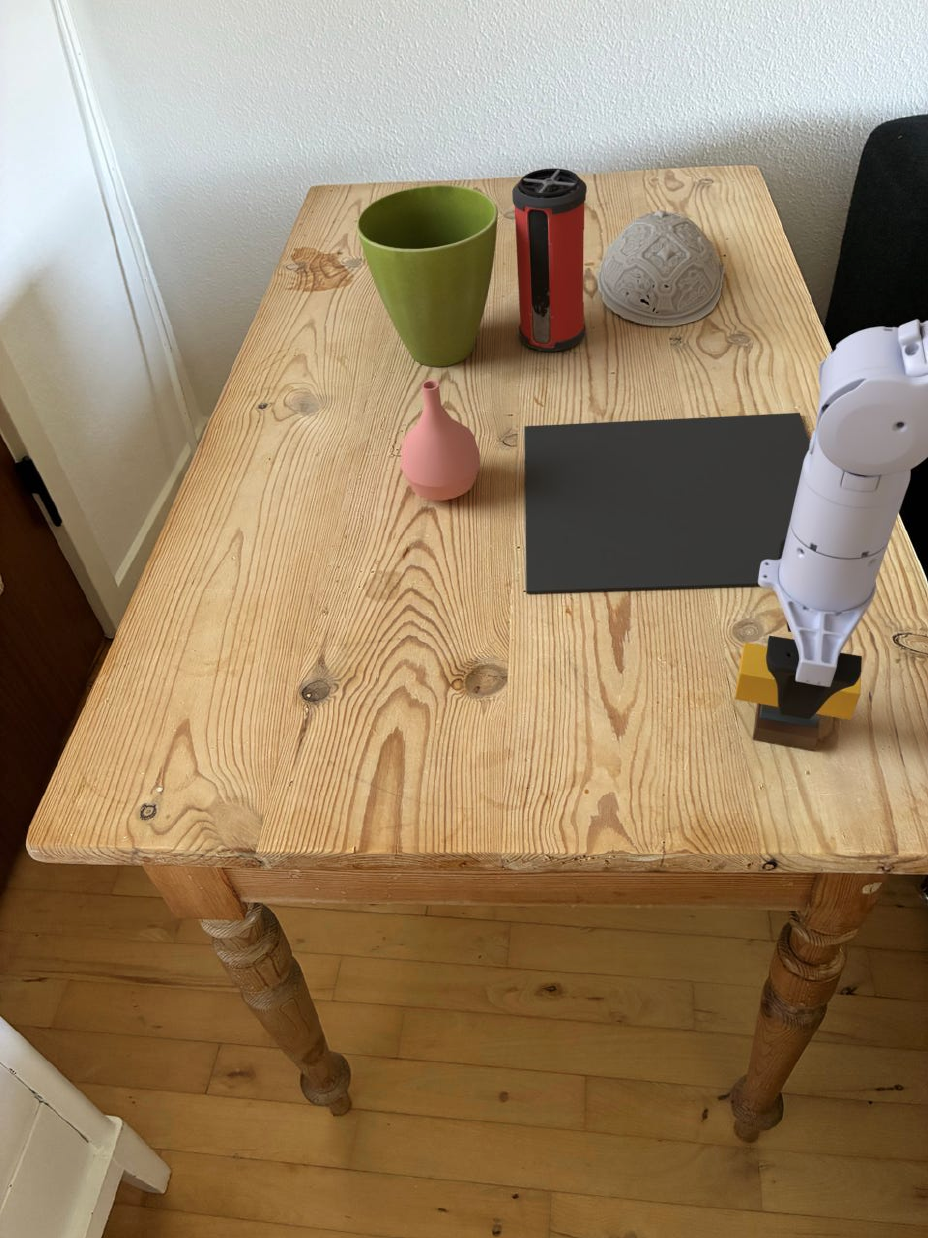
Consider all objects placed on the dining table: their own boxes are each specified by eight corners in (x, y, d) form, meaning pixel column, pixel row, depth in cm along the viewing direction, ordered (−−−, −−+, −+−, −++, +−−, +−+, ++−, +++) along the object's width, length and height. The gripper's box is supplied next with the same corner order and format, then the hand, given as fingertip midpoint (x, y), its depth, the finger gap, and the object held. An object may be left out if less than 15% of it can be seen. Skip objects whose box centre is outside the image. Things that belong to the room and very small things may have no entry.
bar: (852, 687, 68) (861, 661, 66) (850, 720, 66) (860, 694, 64) (738, 668, 70) (744, 642, 68) (734, 699, 68) (739, 673, 66)
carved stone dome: (593, 322, 110) (600, 266, 105) (600, 233, 127) (607, 182, 122) (727, 334, 109) (740, 278, 104) (715, 243, 126) (727, 192, 121)
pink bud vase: (390, 501, 92) (370, 397, 83) (431, 457, 96) (416, 354, 88) (457, 523, 89) (445, 418, 80) (496, 476, 93) (488, 372, 84)
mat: (799, 415, 96) (799, 412, 95) (856, 583, 80) (857, 579, 79) (524, 429, 98) (524, 425, 98) (526, 594, 82) (526, 590, 82)
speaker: (509, 348, 109) (500, 192, 96) (533, 315, 113) (528, 161, 100) (572, 358, 106) (571, 199, 93) (594, 324, 111) (596, 167, 98)
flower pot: (516, 375, 105) (509, 236, 93) (385, 396, 104) (362, 259, 93) (493, 309, 115) (484, 176, 103) (373, 327, 115) (351, 196, 103)
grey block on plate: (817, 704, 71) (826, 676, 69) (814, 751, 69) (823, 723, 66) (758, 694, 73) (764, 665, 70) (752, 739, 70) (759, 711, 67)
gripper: (780, 445, 62) (751, 589, 72) (759, 601, 53) (729, 741, 63) (895, 458, 60) (848, 604, 70) (893, 622, 51) (840, 763, 61)
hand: (799, 670), depth 66 cm, fingers open, 7 cm apart
